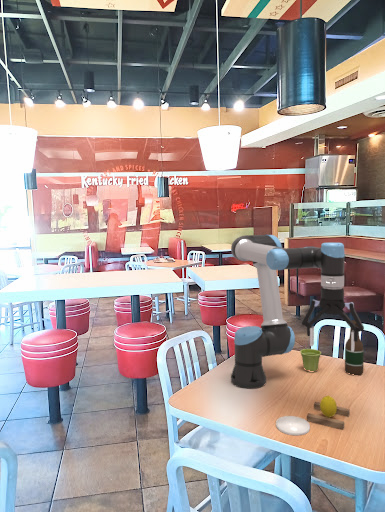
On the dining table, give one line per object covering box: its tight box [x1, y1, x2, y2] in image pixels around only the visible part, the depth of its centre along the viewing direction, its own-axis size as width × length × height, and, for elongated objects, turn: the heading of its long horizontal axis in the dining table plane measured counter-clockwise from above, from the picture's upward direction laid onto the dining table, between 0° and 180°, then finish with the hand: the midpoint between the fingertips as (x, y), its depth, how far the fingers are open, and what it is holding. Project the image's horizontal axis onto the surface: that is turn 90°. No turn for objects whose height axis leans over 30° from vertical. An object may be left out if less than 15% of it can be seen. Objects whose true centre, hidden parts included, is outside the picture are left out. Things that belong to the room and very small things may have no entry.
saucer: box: [275, 415, 311, 436], centre depth 132 cm, size 11×11×1 cm
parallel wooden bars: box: [306, 401, 350, 430], centre depth 137 cm, size 12×12×2 cm
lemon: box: [319, 395, 338, 418], centre depth 137 cm, size 6×6×8 cm
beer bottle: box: [344, 319, 365, 376], centre depth 177 cm, size 8×8×24 cm
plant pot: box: [299, 348, 322, 372], centre depth 181 cm, size 9×9×9 cm
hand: (331, 347), depth 136 cm, fingers open, 13 cm apart
